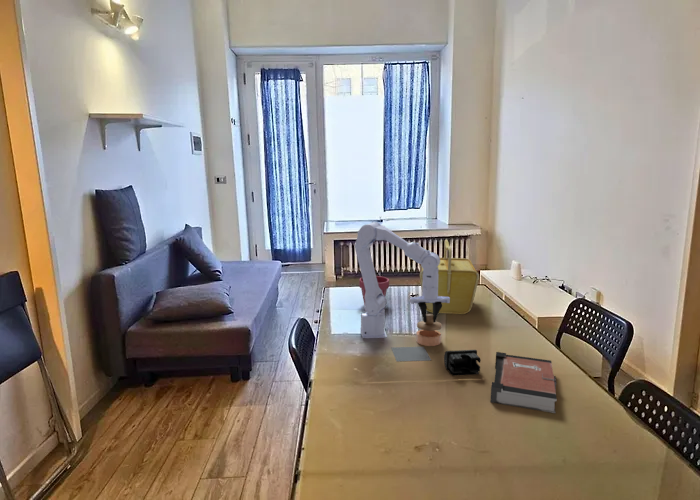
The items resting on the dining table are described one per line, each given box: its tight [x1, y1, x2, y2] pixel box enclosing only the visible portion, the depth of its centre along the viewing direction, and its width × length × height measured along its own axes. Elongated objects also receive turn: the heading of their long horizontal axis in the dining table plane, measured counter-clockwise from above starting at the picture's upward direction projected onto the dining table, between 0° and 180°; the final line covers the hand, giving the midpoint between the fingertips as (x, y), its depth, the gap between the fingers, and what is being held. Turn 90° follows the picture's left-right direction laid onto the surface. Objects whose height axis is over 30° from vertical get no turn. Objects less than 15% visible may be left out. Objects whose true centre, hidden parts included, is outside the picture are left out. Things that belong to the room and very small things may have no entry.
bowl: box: [415, 329, 442, 347], centre depth 172 cm, size 9×9×4 cm
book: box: [490, 351, 558, 414], centre depth 137 cm, size 26×18×5 cm
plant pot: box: [358, 275, 390, 306], centre depth 217 cm, size 14×14×13 cm
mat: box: [390, 346, 432, 362], centre depth 160 cm, size 12×12×1 cm
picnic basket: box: [418, 239, 480, 315], centre depth 215 cm, size 29×26×30 cm
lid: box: [416, 313, 443, 331], centre depth 170 cm, size 9×9×4 cm
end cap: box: [443, 349, 481, 377], centre depth 147 cm, size 10×7×7 cm
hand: (429, 321), depth 170 cm, fingers closed on lid, 3 cm apart
